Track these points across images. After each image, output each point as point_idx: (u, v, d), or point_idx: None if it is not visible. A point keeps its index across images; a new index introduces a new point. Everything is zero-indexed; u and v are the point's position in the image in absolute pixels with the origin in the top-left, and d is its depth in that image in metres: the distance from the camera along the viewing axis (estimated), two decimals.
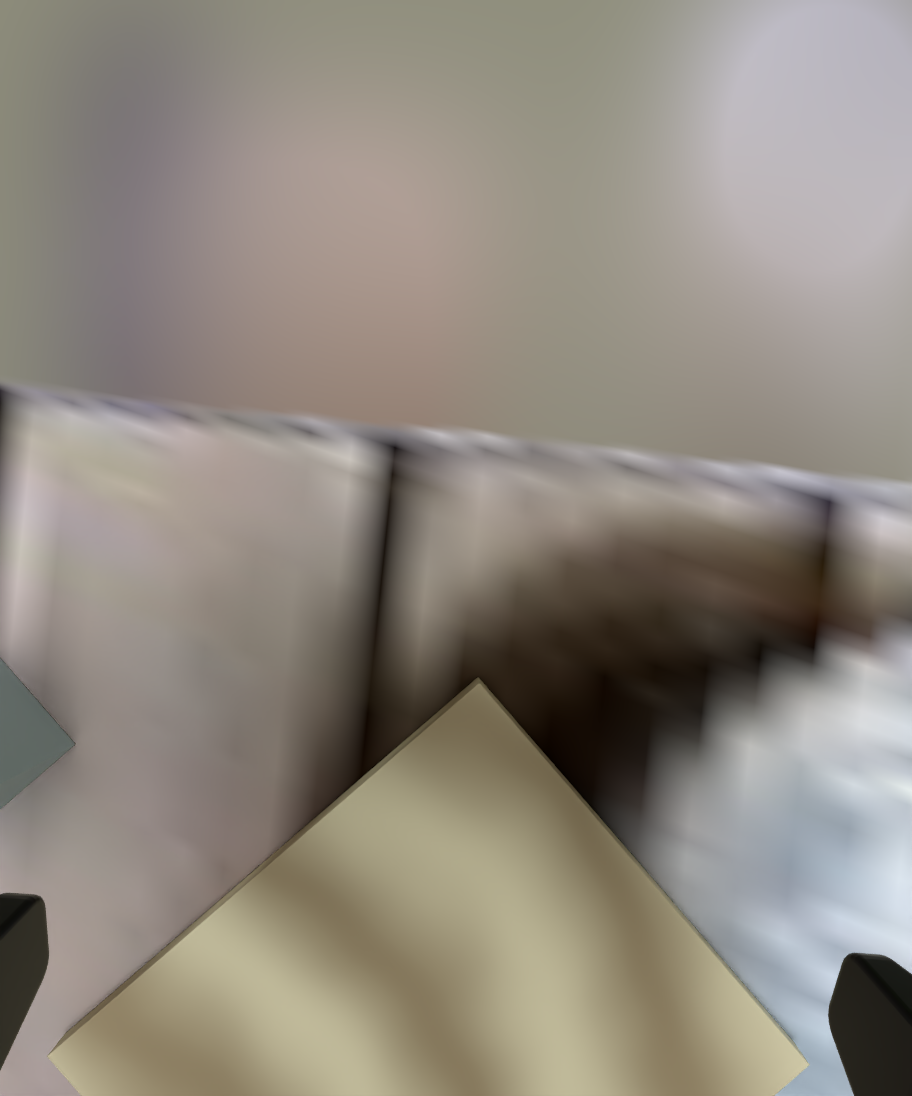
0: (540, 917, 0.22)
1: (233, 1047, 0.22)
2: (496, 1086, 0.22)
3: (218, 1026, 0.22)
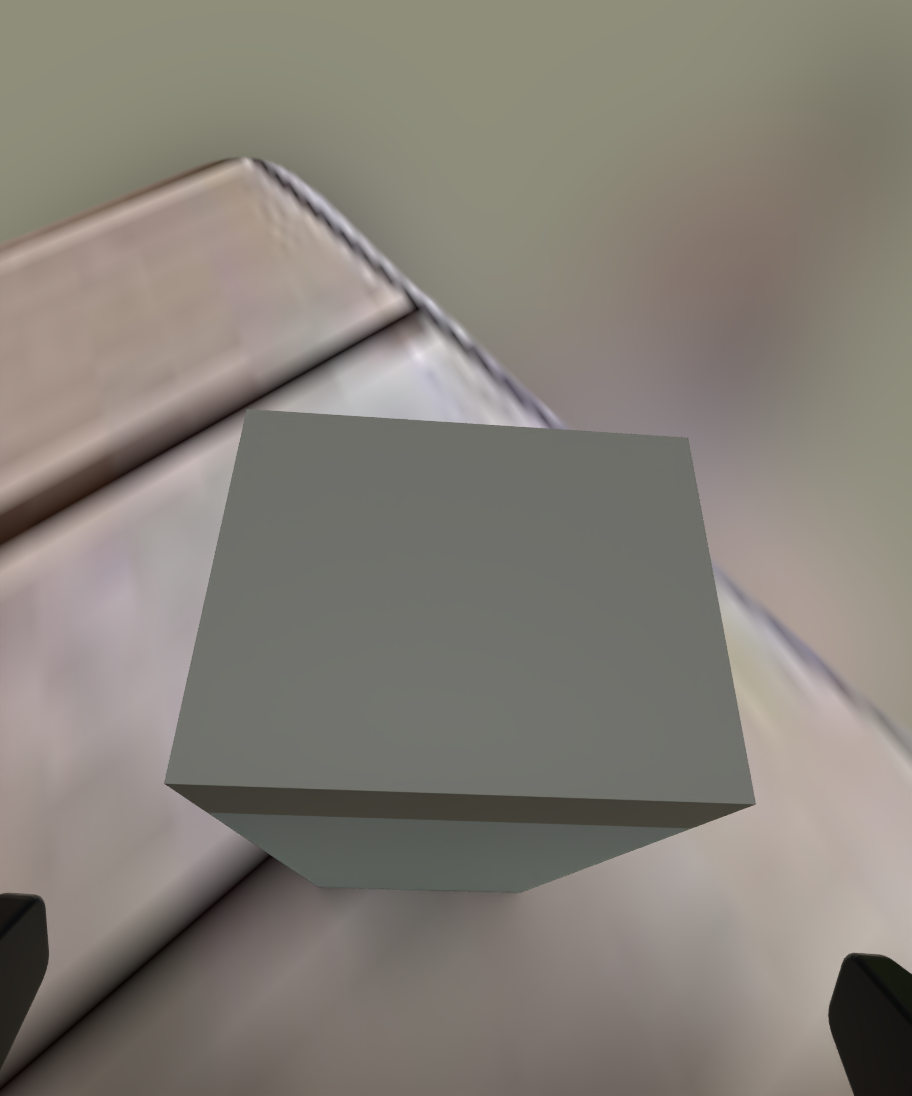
0: None
1: None
2: None
3: None
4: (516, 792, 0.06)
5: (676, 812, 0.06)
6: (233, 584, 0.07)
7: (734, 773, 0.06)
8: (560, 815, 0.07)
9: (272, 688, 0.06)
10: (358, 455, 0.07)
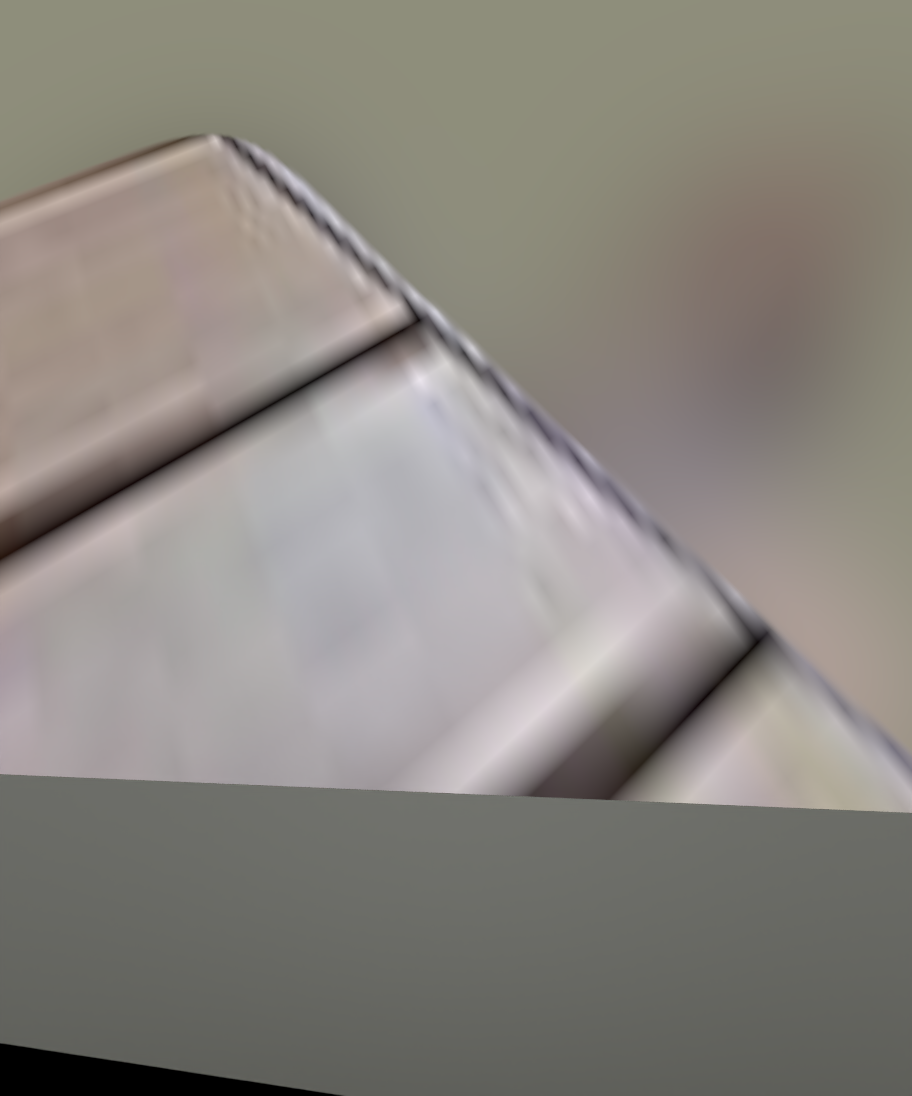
0: None
1: None
2: None
3: None
4: None
5: None
6: None
7: None
8: None
9: None
10: (183, 966, 0.02)
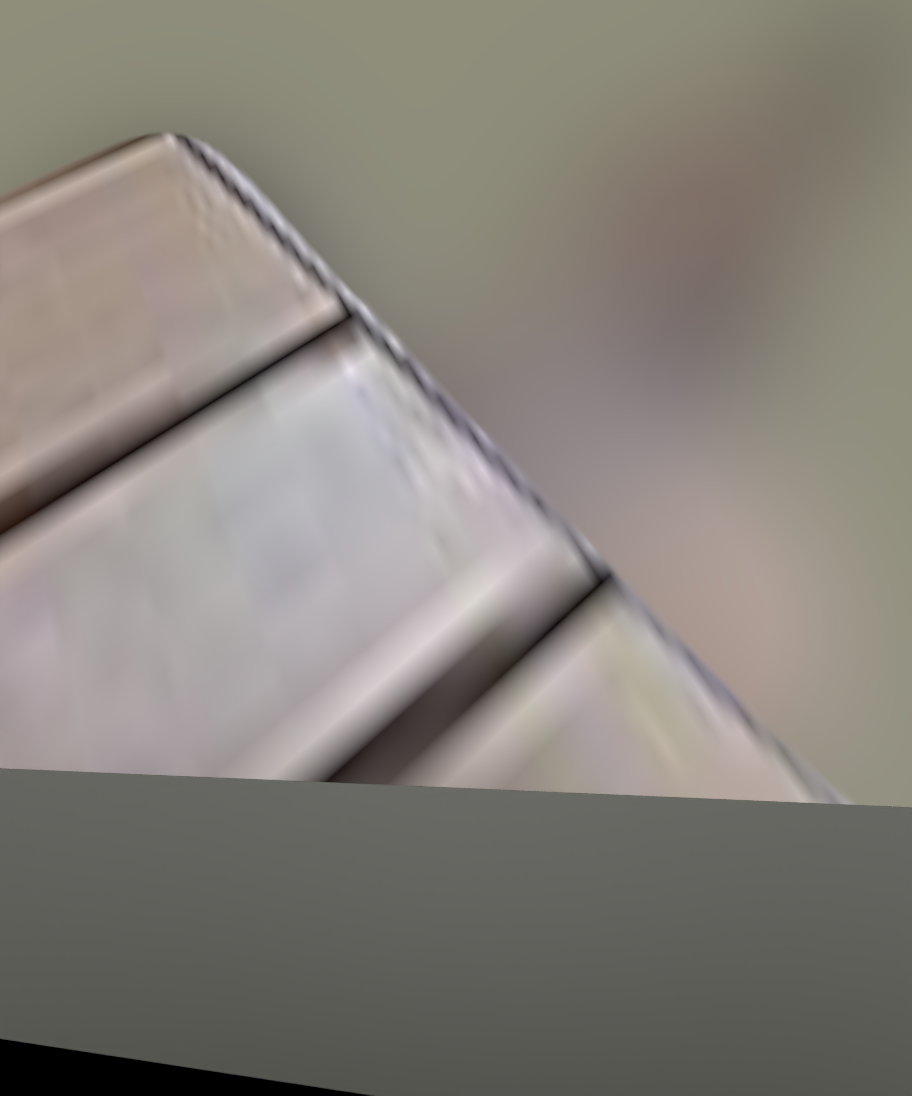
0: None
1: None
2: None
3: None
4: None
5: None
6: None
7: None
8: None
9: None
10: (180, 959, 0.02)
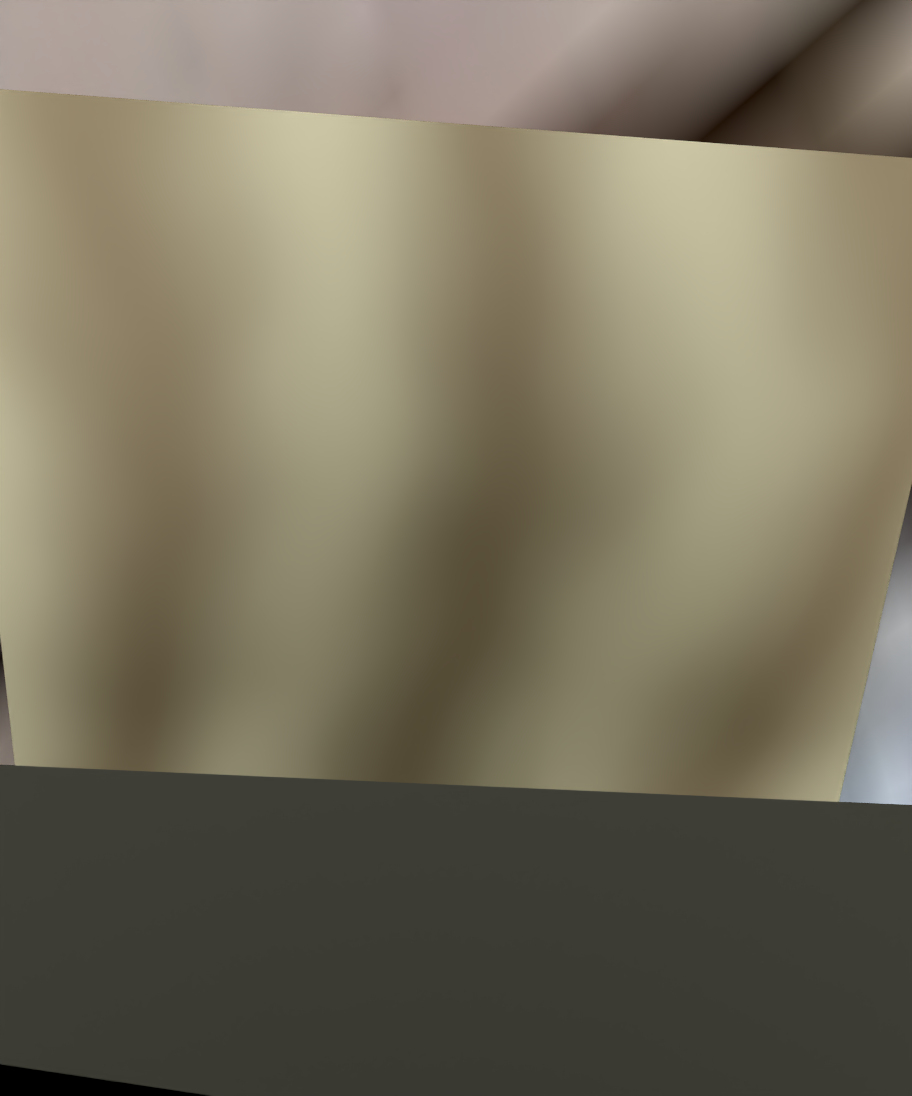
0: (732, 531, 0.14)
1: (222, 331, 0.13)
2: (493, 666, 0.14)
3: (225, 283, 0.12)
4: None
5: None
6: None
7: None
8: None
9: None
10: (186, 952, 0.02)
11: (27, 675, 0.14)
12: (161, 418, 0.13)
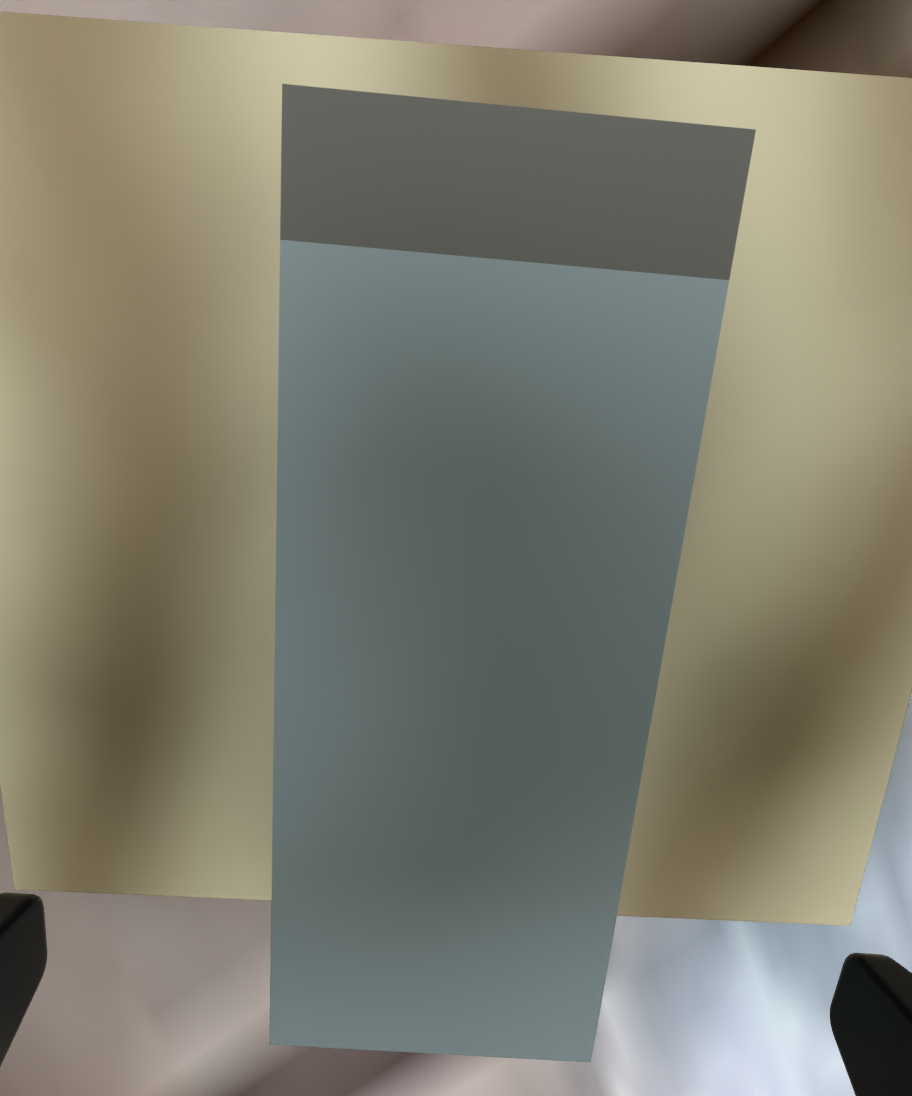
0: (774, 507, 0.13)
1: (213, 283, 0.11)
2: None
3: (215, 230, 0.11)
4: (561, 119, 0.07)
5: (700, 183, 0.07)
6: None
7: None
8: (602, 214, 0.08)
9: None
10: None
11: (7, 661, 0.13)
12: (147, 381, 0.12)
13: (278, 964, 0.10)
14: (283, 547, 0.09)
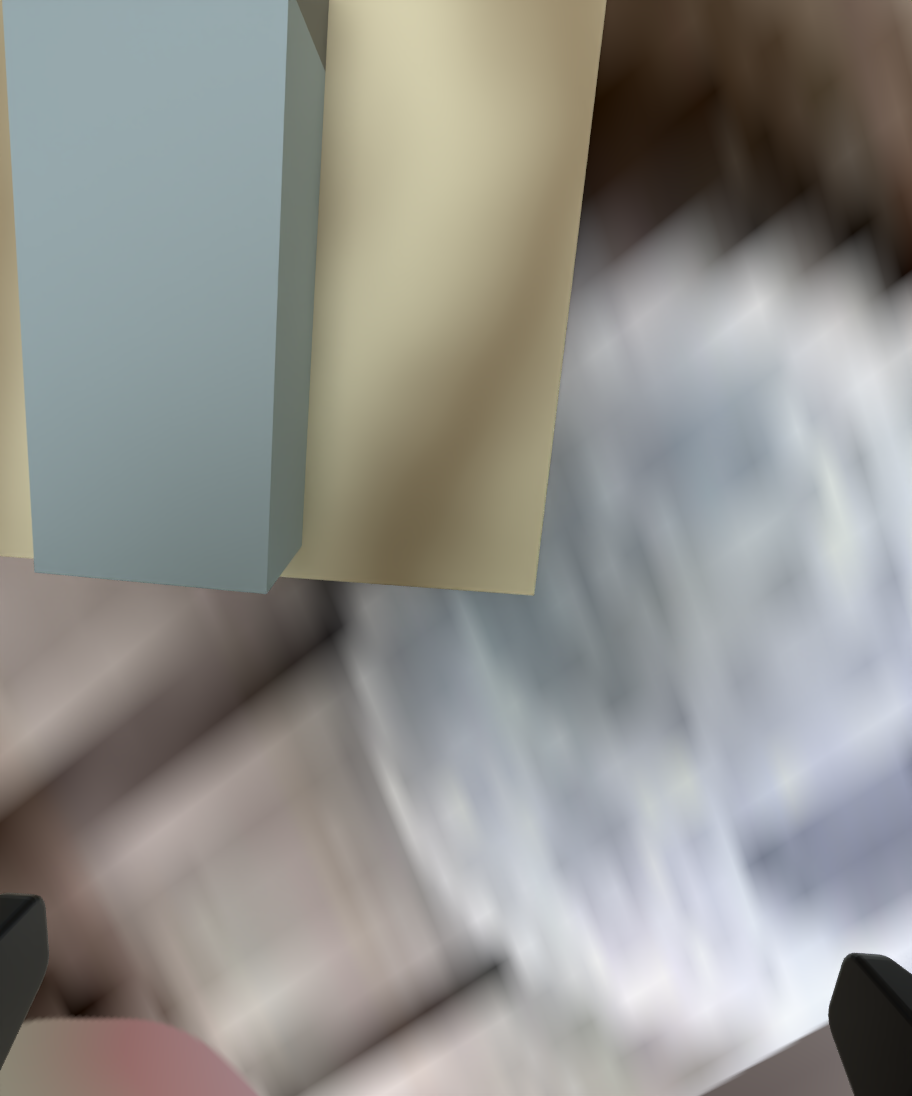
0: (440, 237, 0.17)
1: None
2: None
3: None
4: None
5: None
6: None
7: None
8: None
9: None
10: None
11: None
12: None
13: (35, 502, 0.15)
14: (16, 166, 0.13)
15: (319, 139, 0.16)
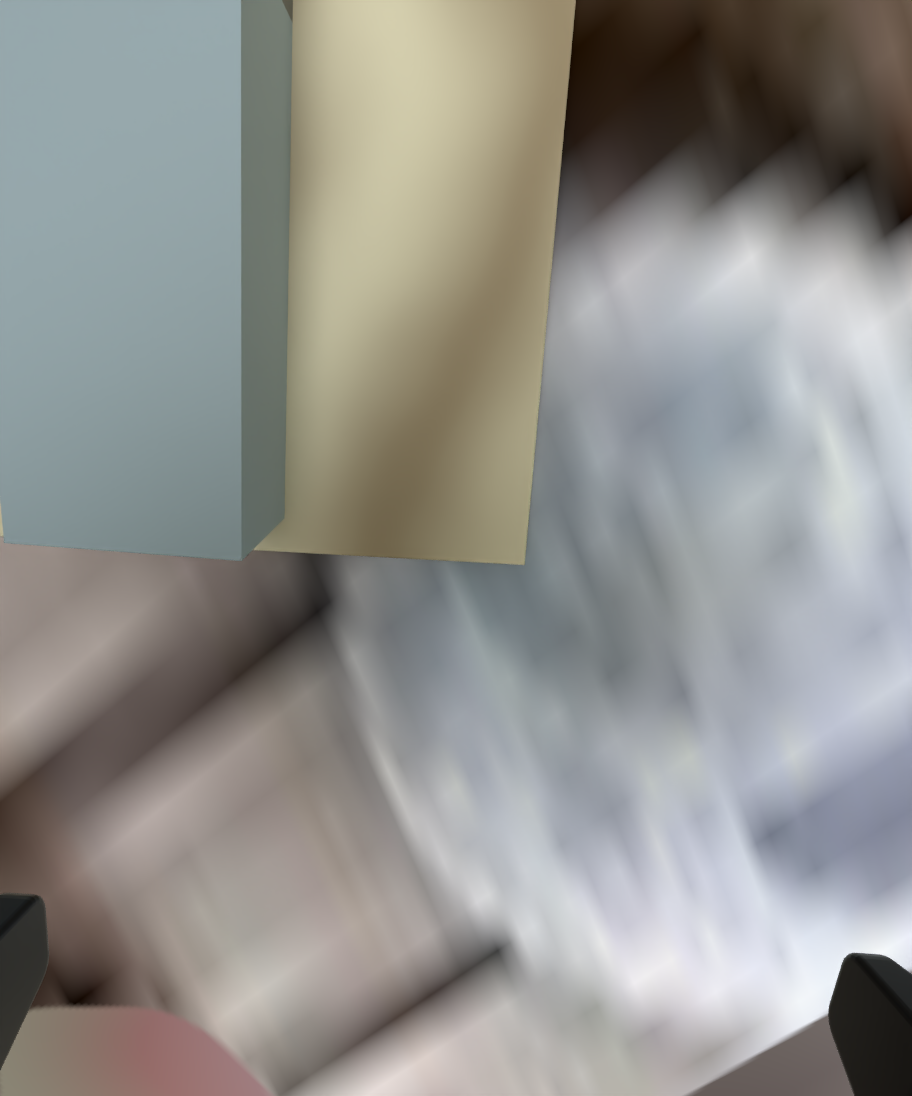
0: (416, 192, 0.17)
1: None
2: None
3: None
4: None
5: None
6: None
7: None
8: None
9: None
10: None
11: None
12: None
13: (2, 469, 0.14)
14: None
15: (287, 92, 0.16)
